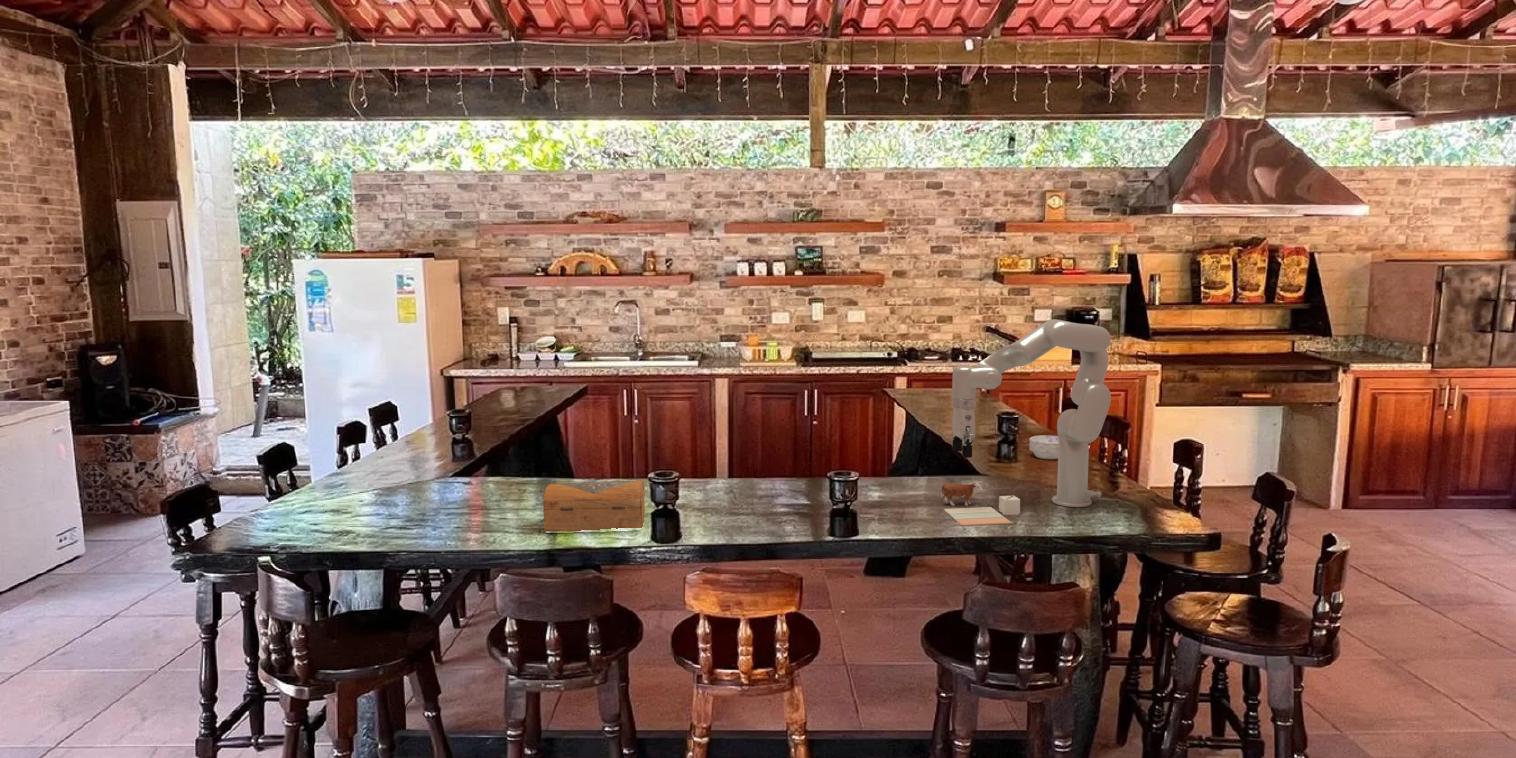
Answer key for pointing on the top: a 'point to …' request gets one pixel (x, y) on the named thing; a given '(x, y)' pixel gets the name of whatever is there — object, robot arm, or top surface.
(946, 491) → the bull figurine
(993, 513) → the game board
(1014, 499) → the die
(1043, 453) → the paper bowls
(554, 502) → the wooden box
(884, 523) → the top surface
